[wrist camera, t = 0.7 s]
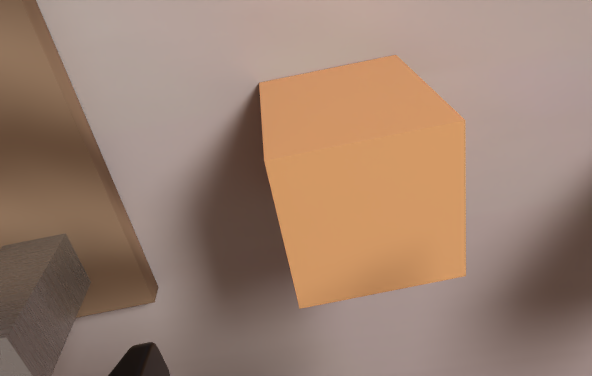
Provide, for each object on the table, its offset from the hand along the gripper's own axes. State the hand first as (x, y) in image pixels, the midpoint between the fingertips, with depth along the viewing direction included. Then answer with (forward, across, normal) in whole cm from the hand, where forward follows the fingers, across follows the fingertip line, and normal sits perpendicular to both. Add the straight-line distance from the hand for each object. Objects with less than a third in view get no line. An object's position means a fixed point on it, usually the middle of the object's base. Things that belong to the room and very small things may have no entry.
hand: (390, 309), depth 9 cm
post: (+11, +12, +4) cm, 17 cm away
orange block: (+11, 0, +1) cm, 11 cm away
